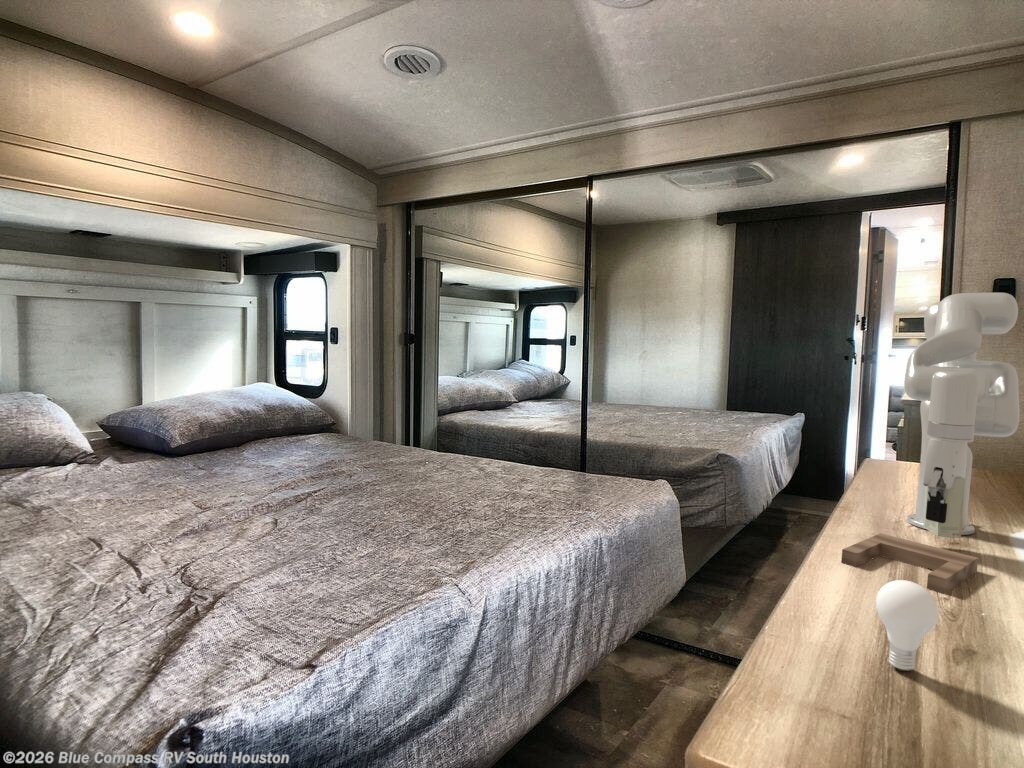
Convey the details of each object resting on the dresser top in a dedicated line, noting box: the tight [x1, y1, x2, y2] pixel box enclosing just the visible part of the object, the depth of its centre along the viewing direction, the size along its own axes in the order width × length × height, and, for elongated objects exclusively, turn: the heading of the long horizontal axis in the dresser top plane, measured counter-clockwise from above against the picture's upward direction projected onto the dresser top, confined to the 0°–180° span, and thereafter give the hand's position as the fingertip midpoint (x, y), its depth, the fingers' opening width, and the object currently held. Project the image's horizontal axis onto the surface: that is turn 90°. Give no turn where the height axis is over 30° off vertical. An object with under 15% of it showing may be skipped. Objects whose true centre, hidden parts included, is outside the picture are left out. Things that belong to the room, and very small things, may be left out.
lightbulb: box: [875, 579, 940, 672], centre depth 70 cm, size 6×6×11 cm
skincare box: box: [923, 476, 965, 539], centre depth 117 cm, size 6×4×12 cm
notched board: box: [840, 532, 979, 594], centre depth 106 cm, size 18×16×2 cm
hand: (942, 516), depth 117 cm, fingers closed on skincare box, 7 cm apart
